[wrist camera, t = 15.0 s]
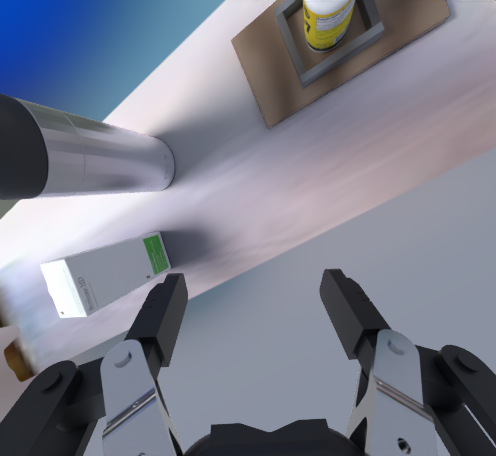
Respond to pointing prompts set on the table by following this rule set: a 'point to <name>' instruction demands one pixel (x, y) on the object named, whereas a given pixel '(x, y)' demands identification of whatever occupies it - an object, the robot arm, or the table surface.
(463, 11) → the table surface
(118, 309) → the table surface
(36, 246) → the table surface
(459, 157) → the table surface
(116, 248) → the skincare box
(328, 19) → the supplement bottle
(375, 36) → the seat board
